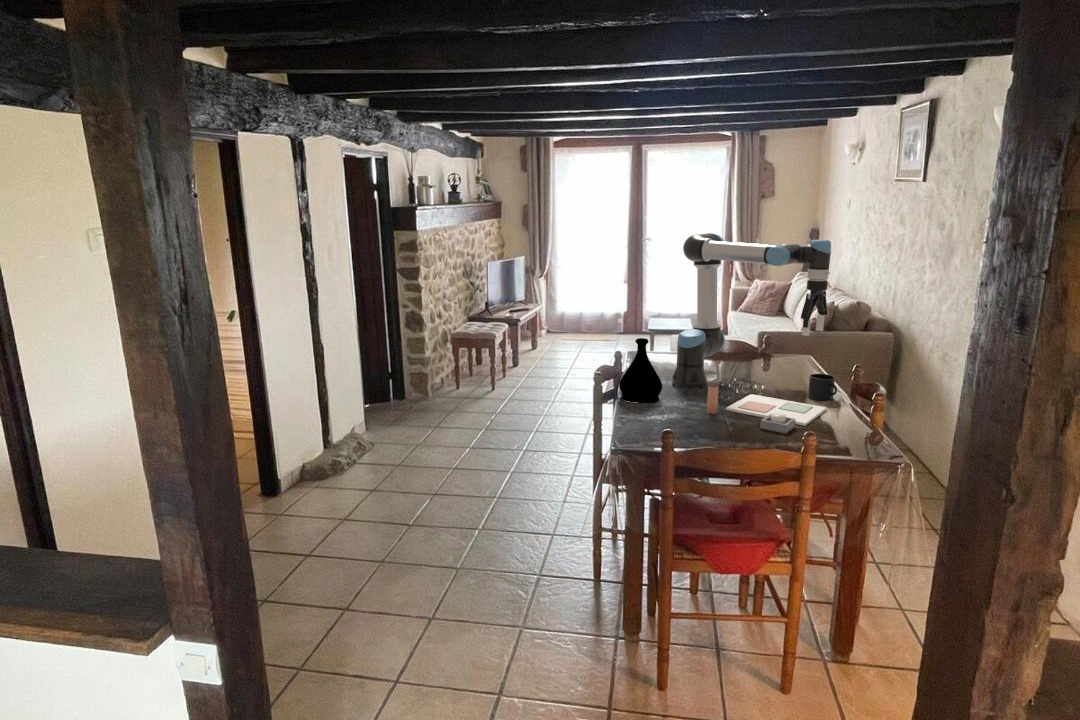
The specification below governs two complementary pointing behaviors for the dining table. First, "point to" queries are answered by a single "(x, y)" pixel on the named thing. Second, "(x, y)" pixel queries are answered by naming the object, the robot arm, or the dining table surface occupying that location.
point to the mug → (821, 387)
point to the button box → (777, 424)
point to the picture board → (777, 408)
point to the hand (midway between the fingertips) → (812, 333)
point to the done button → (778, 418)
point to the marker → (712, 397)
